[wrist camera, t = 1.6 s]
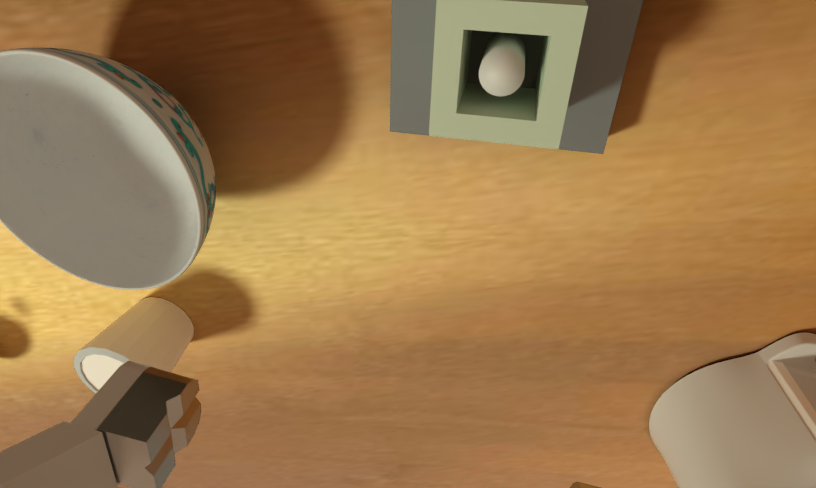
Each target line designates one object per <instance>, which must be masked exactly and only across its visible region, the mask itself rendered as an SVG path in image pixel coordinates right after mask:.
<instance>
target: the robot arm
mask: <svg viewBox="0 0 816 488" xmlns="http://www.w3.org/2000/svg"><path fill="white" fill-rule="evenodd" d="M198 391H199V384H198V380H196V379H193V378H189V377H186V376H182V375H178V374H175V373H171V372H168V371H164V370H161V369H157V368H154V367H151V366H147V365H144V364H140V363H136V362H132V361H127V362H126V363H124V364H123V365H121V366H120V367H119V368H118V369H117V370H116V371H115V372H114V373H113V375H112V376H111V377H110V378H109V379H108V380H107V381H106V383H105V384H104V385H103V386H102V387H101V388H100V389H99V391H98V392H97V393H96V394H95V395H94V396H93V397H92V398H91V400H90V401H89V402H88V403H87V404H86V405H85V406H84V408H83V409H82V410H81V411H80V412H79V413H78V414H77V416H76V417H75V418H74V419H73V420H72V421H71V422H70V423H69V422H65V421H63V422H61V423H59V424H57V425H54V426H52V427H50V428H48V429H46V430H44V431H42V432H40V433H38V434H36V435H34V436H32V437H30V438H27V439H25V440H23V441H21V442H19V443H17V444H15V445H13V446H11V447H9V448H7V449H5V450H3V451H1V452H0V488H117V487H118V485H117V484H119V485H123V486H127V487H131V488H162V486H163V484H164V483H165V481H166V480H167V478H168V476H169V475H170V473H171V472H172V470H173V468H174V467H175V465H176V464H175V453H176V452H178V451H180V450H181V449H183V448H185V447H187V446H188V444H189V442H190V441H191V439H192V437H193V436H194V434H195V431H196V429H197V426H198V424H199V421H200V416H201V403H200V402H199V401H198V399H197V398H196V397H195V396H196V394H197V393H198ZM649 430H650V435H651V438H652V440H653V442H654V444H655V446H656V447H657V449H658V450H659V452H660V453H661V455H662V457H663V458H664V460H665V462H666V464H667V465H668V467H669V469H670V471H671V473H672V475H673V477H674V479H675V481H676V484H677V486H678V488H816V334H813V333H797V334H793V335H790V336H787V337H785V338H783V339H781V340H779V341H777V342H775V343H773V344H771V345H769V346H767V347H766V348H764V349H762V350H760V351H759V352H757V353H754V354H751V355H747V356H744V357H740V358H735V359H731V360H727V361H723V362H719V363H716V364H713V365H710V366H707V367H704V368H702V369H699V370H697V371H695V372H693V373H691V374H689V375H687V376H685V377H684V378H682V379H680V380H679V381H677V382H676V383H675V384H673V385H672V386H671V387H670V388H669V389H667V390H666V391H665V392H664V393H663V395H662V396H661V397H660V398H659V399H658V401H657V402H656V404H655V406H654V408H653V410H652V412H651V416H650V421H649ZM570 488H601V487H597V486H593V485H589V484H585V483H581V482H575V483H573V484H572V485H571V487H570Z"/></svg>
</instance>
